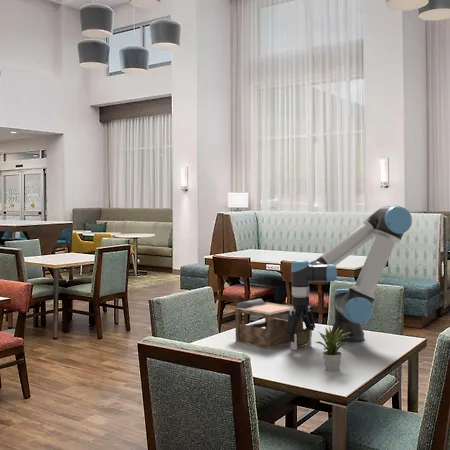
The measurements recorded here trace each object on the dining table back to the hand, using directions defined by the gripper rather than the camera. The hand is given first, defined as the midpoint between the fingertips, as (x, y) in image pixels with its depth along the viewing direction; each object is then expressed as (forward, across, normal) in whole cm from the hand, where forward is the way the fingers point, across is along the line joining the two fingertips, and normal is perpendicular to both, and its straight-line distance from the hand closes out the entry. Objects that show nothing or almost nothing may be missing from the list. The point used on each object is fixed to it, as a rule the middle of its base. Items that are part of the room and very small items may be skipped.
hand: (301, 347), depth 244 cm
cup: (0, 0, 0) cm, 0 cm away
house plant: (0, +18, +30) cm, 35 cm away
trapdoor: (-12, 0, -22) cm, 25 cm away
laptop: (+1, -25, -33) cm, 41 cm away
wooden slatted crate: (0, 0, -19) cm, 19 cm away
